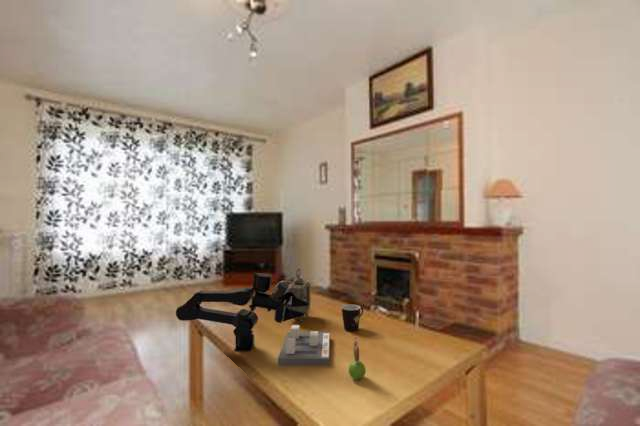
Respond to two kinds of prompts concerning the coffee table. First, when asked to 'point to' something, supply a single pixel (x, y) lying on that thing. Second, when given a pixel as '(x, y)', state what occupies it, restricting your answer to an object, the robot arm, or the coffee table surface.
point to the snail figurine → (356, 364)
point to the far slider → (295, 331)
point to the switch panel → (306, 351)
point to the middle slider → (313, 338)
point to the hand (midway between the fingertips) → (306, 309)
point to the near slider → (291, 346)
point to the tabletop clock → (301, 293)
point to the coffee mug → (351, 317)
